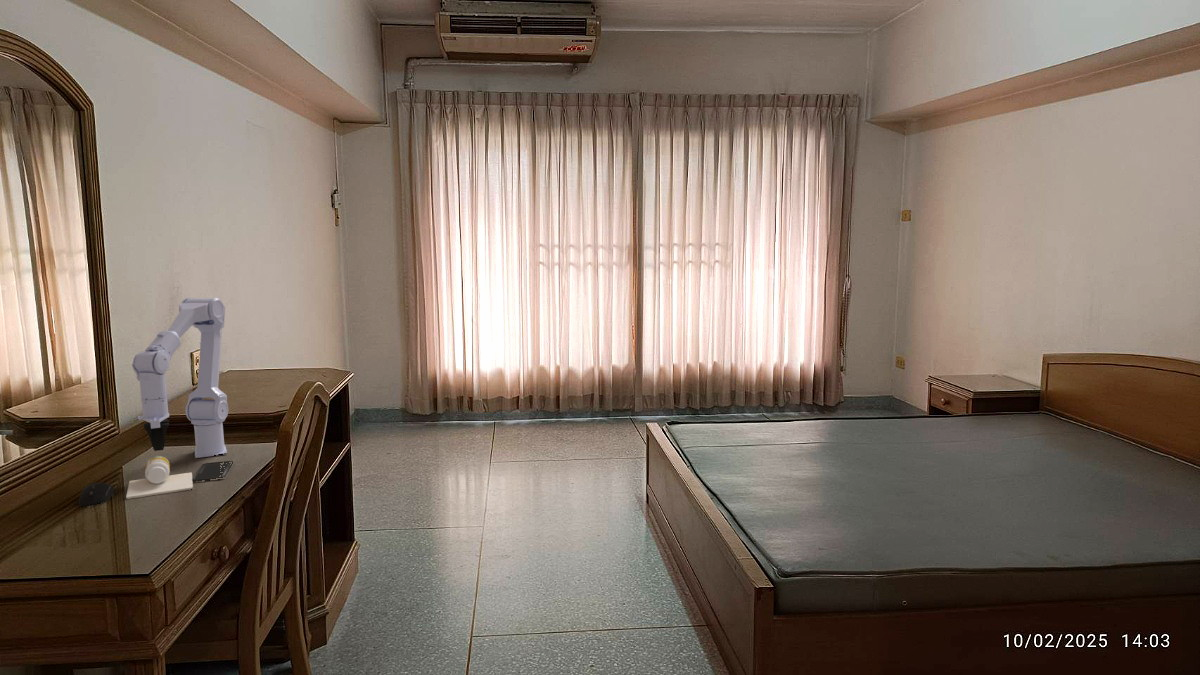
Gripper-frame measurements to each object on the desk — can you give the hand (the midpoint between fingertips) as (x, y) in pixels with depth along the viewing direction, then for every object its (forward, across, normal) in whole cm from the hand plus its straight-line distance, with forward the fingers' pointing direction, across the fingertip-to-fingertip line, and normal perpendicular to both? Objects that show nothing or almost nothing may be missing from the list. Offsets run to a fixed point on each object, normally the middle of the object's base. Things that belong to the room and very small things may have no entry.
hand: (158, 449), depth 205 cm
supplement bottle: (+4, +1, 0) cm, 4 cm away
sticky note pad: (+7, +9, 0) cm, 12 cm away
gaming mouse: (+8, +13, -14) cm, 21 cm away
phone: (+8, +4, +12) cm, 15 cm away
